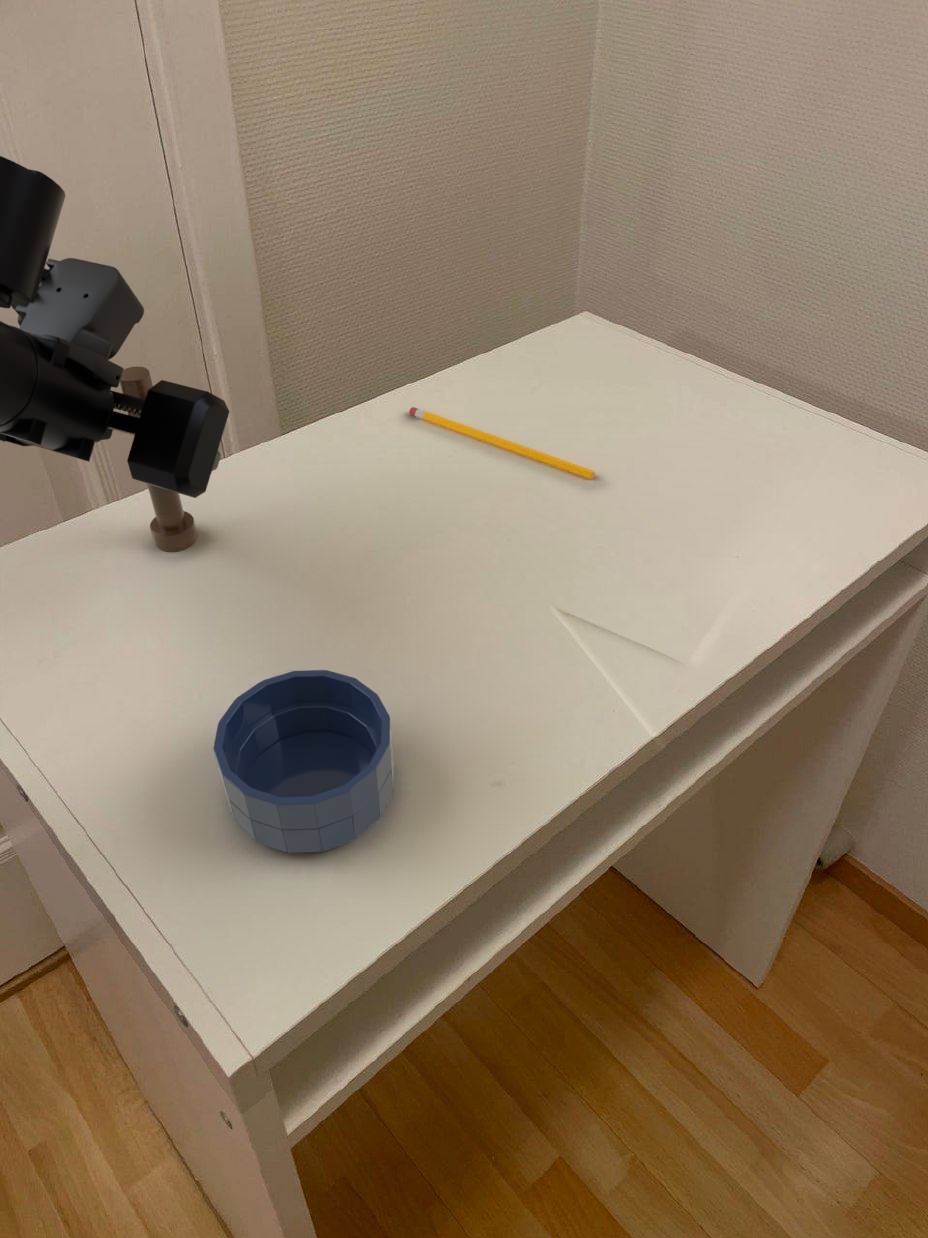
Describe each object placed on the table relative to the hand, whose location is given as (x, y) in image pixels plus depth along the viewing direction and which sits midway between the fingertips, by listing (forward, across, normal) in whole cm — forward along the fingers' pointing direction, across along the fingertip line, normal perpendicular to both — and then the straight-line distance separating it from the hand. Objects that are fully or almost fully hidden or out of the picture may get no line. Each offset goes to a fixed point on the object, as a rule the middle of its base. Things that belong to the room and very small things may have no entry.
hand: (162, 446), depth 67 cm
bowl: (-7, -21, +17) cm, 28 cm away
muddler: (+5, 0, +6) cm, 8 cm away
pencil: (+21, -17, -9) cm, 28 cm away
